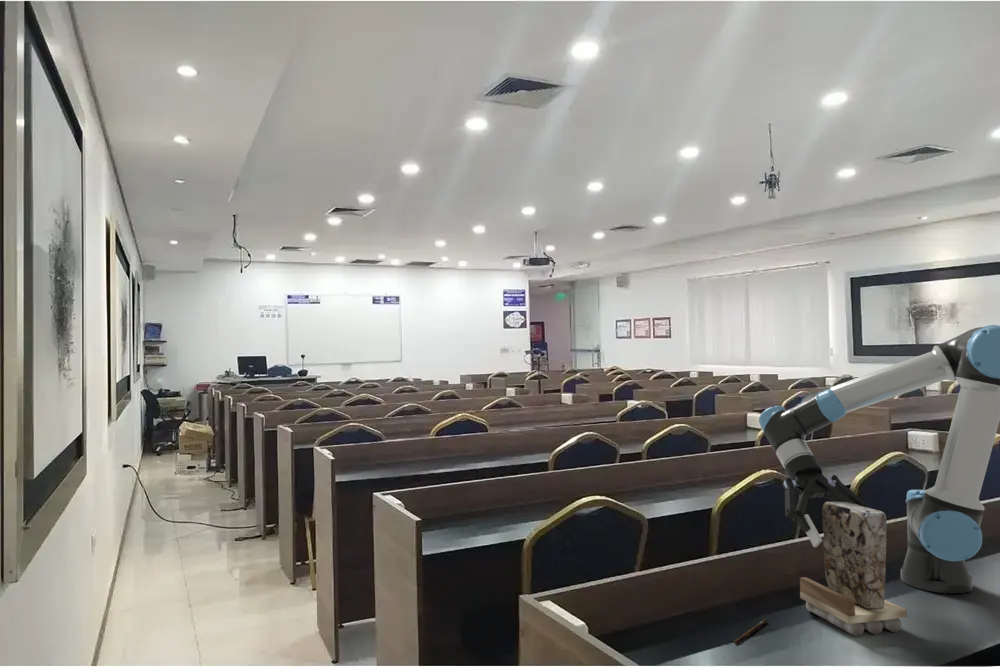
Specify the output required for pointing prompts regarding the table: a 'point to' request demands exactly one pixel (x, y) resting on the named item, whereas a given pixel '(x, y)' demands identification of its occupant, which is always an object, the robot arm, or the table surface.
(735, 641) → the dark brown thin bar
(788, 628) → the table surface
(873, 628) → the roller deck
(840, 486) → the robot arm
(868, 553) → the stone block
